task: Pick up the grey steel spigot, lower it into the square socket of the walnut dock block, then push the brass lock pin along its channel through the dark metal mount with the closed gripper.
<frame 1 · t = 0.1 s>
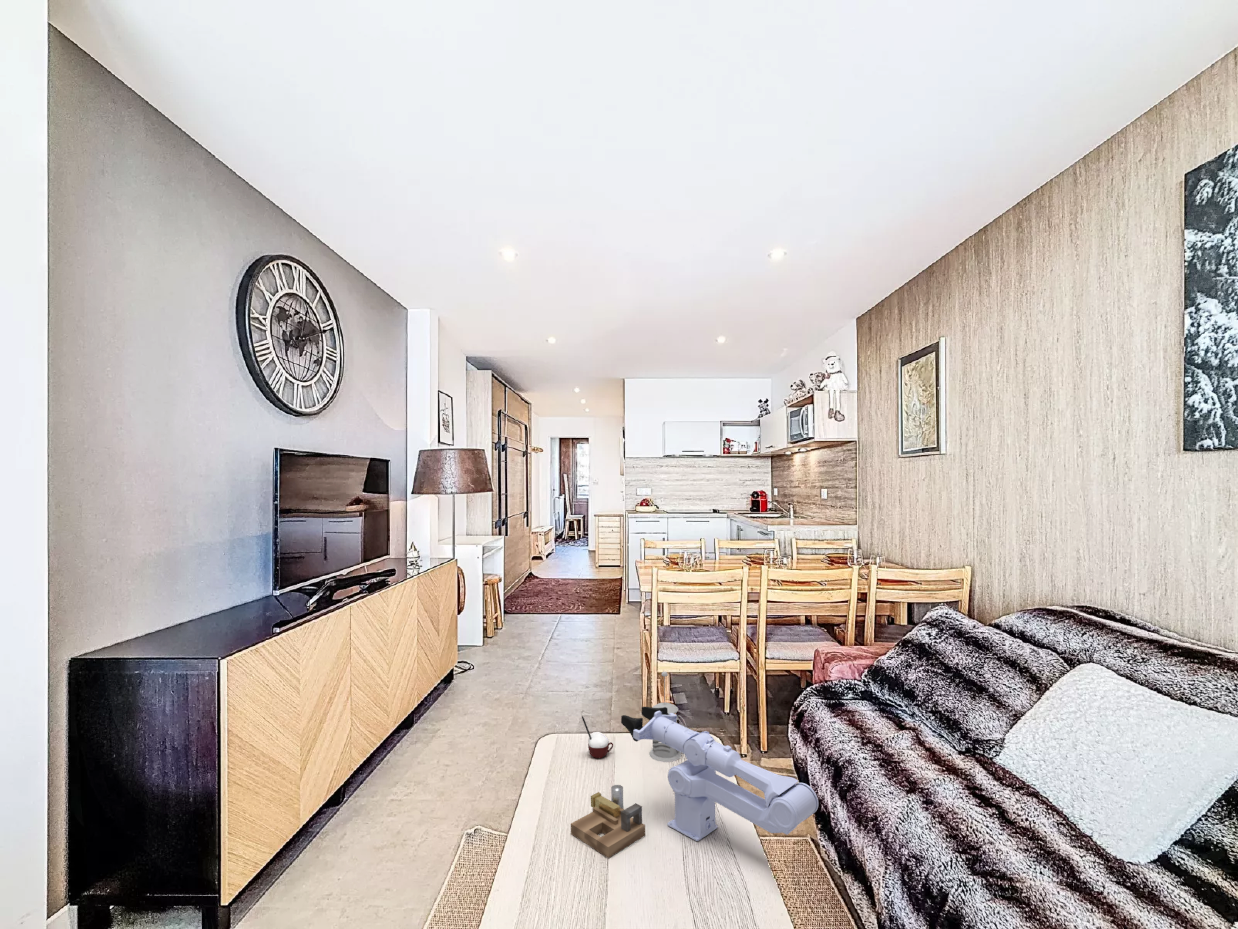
hand: (632, 714, 165), 22 cm above the table, tool horizontal, fingers open, 7 cm apart
french press: (668, 755, 189), on the table
spigot: (617, 811, 158), on the table
cocoa: (597, 756, 189), on the table
lock pin: (605, 805, 154), point 4 cm above the table, slide at 0.0 cm
dock: (601, 840, 146), on the table
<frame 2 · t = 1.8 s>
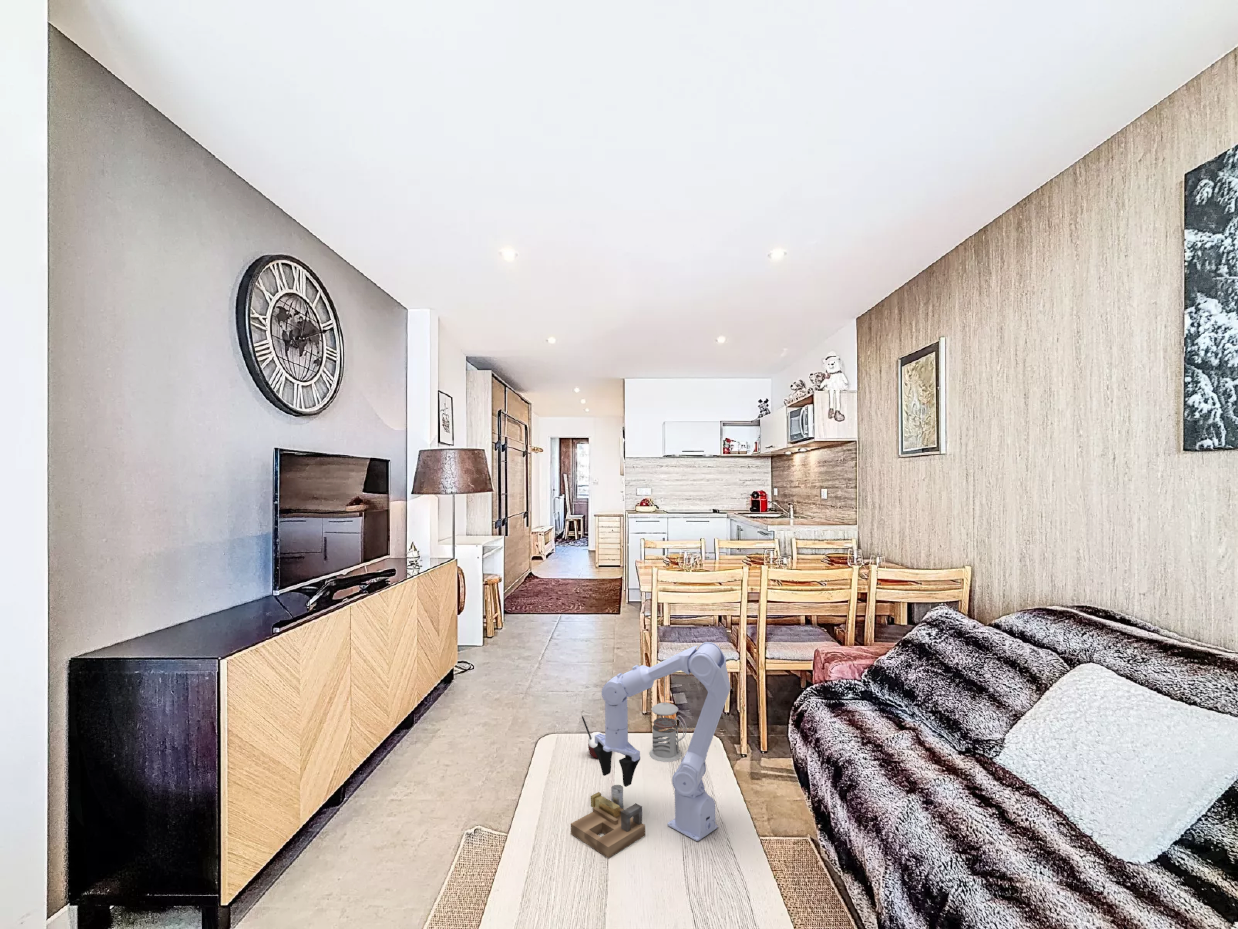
hand: (616, 779, 158), 8 cm above the table, tool pointing down, fingers open, 7 cm apart
nothing on the table moved.
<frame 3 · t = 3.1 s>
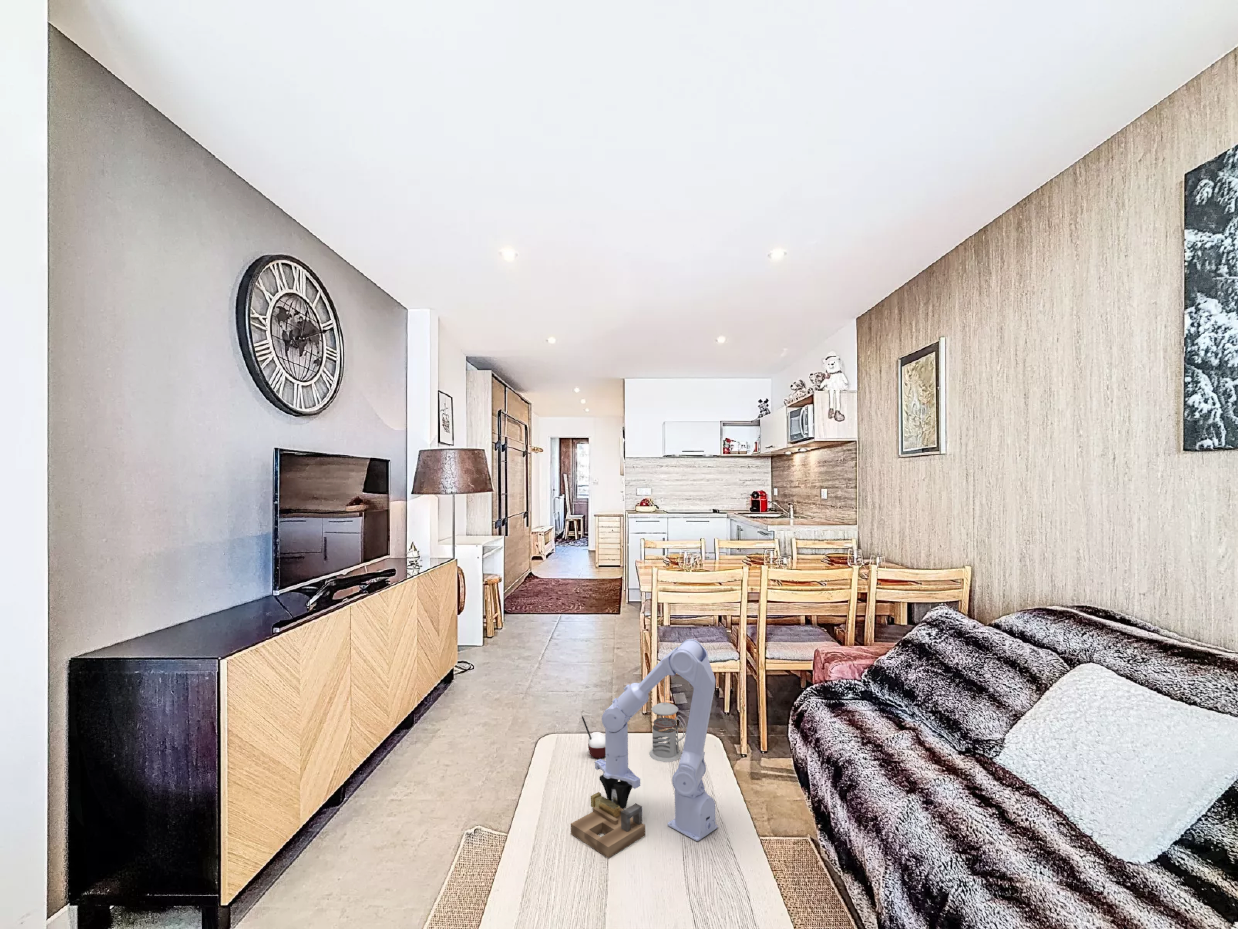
hand: (617, 805, 158), 1 cm above the table, tool pointing down, fingers closed on spigot, 3 cm apart
spigot: (617, 811, 158), on the table, touching gripper
everything else where it was.
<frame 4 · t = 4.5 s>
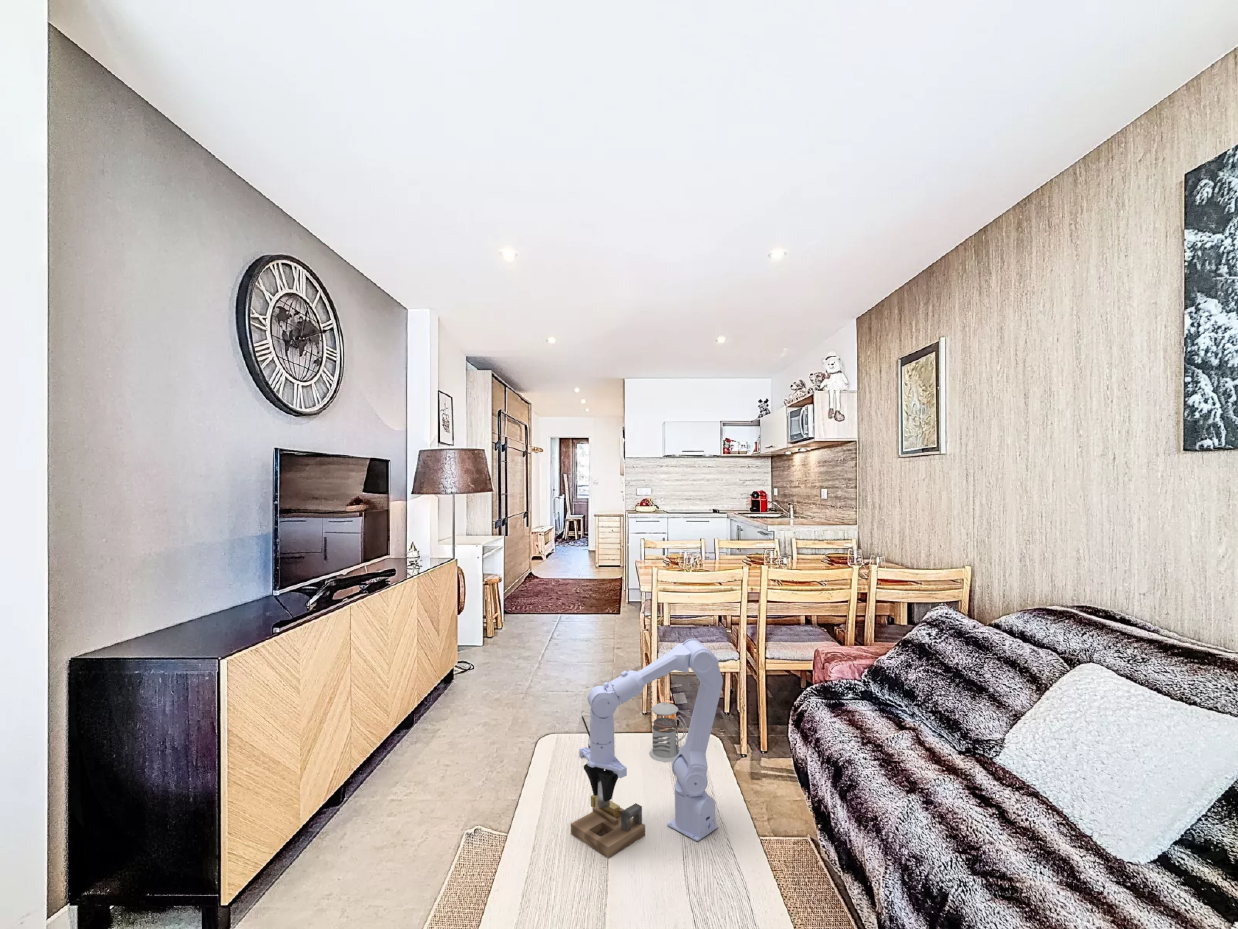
hand: (602, 796, 148), 9 cm above the table, tool pointing down, fingers closed on spigot, 3 cm apart
spigot: (603, 804, 148), point 7 cm above the table, touching gripper
everything else where it was.
when the fingers open (3 cm above the table, at t = 6.1 s): spigot drops 1 cm, resting in dock.
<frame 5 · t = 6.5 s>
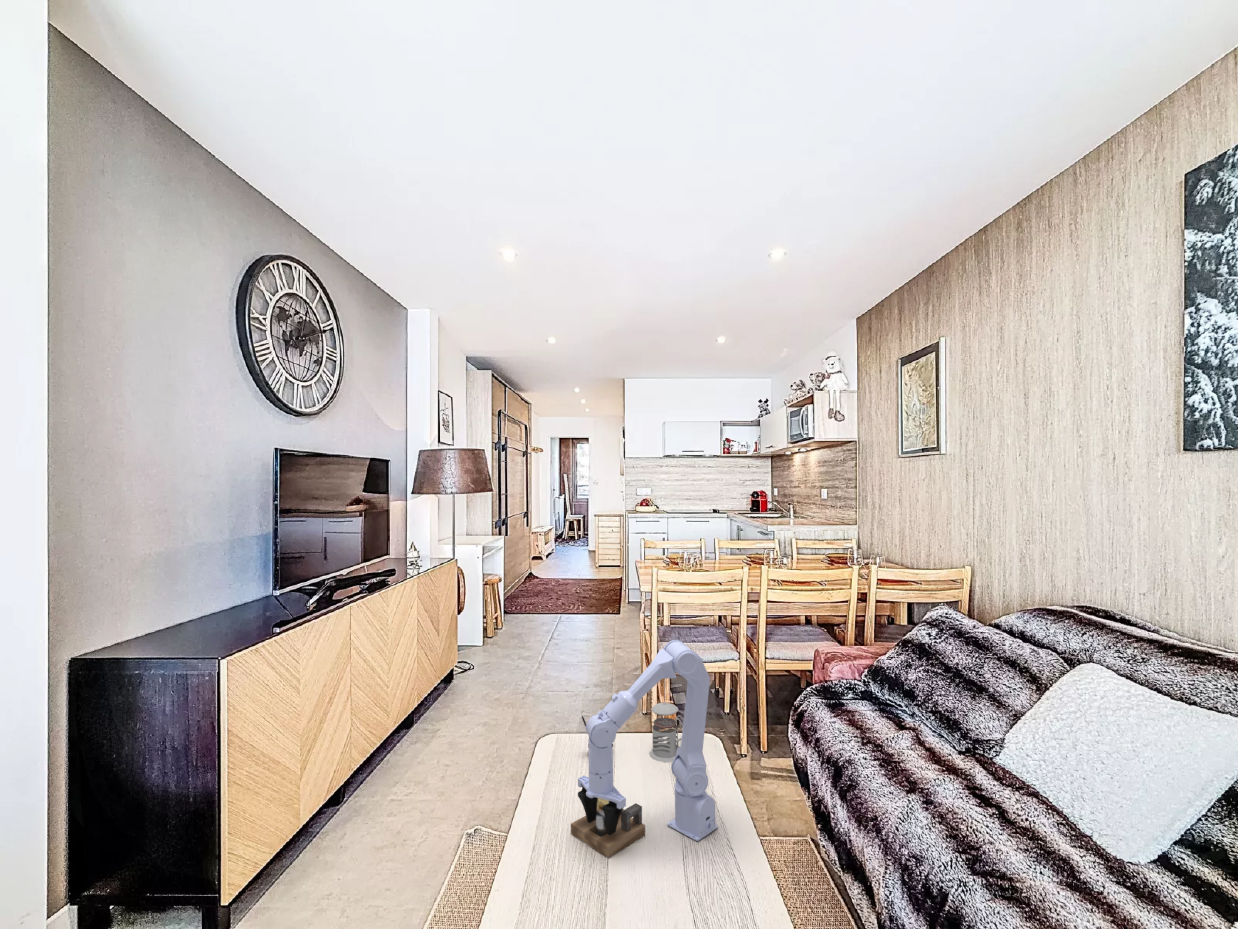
hand: (601, 826, 146), 3 cm above the table, tool pointing down, fingers open, 6 cm apart
spigot: (602, 839, 147), resting in dock
everything else where it was.
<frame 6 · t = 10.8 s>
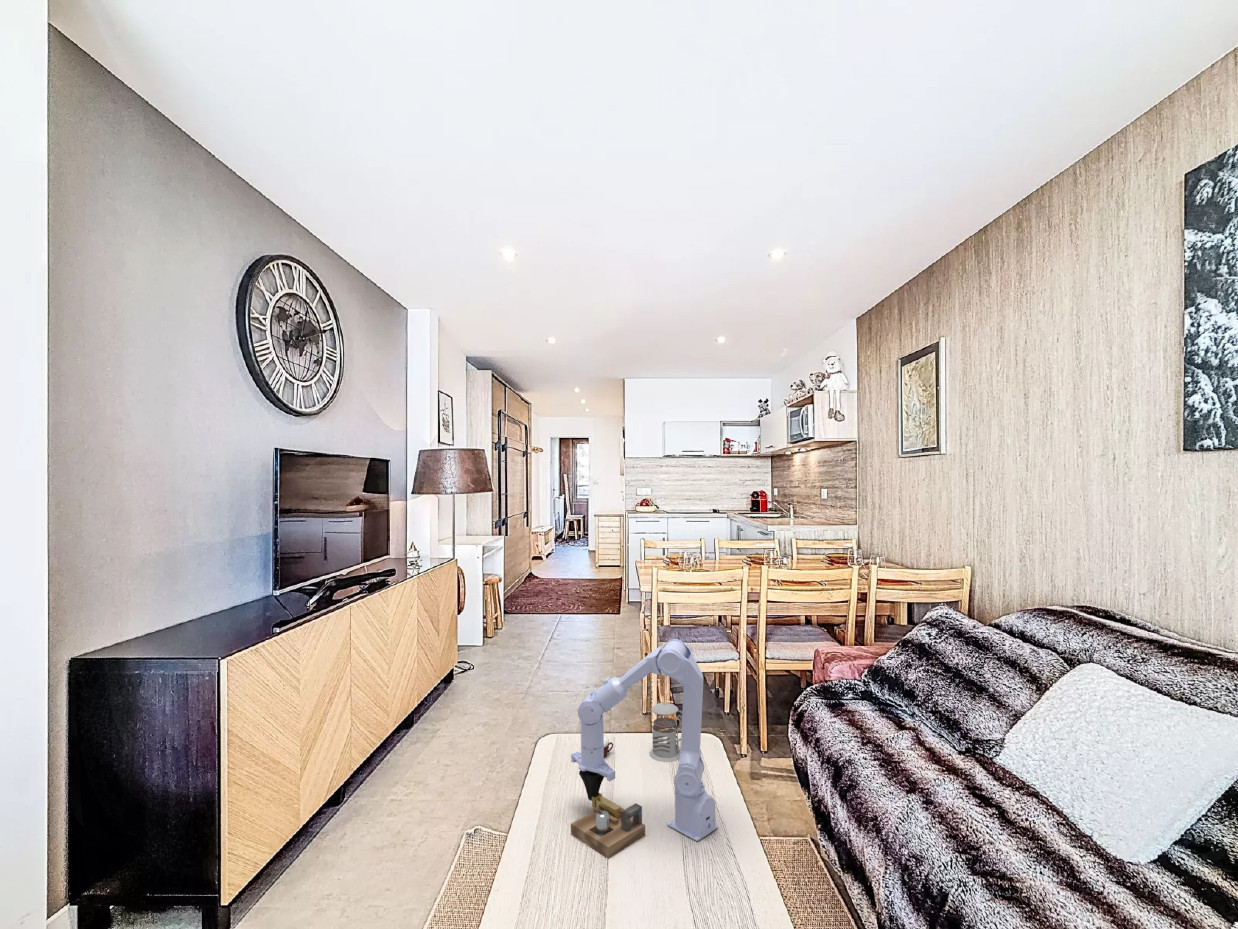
hand: (593, 798, 157), 4 cm above the table, tool pointing down, fingers closed
lock pin: (606, 805, 154), point 4 cm above the table, slide at 0.4 cm, touching gripper
everything else where it was.
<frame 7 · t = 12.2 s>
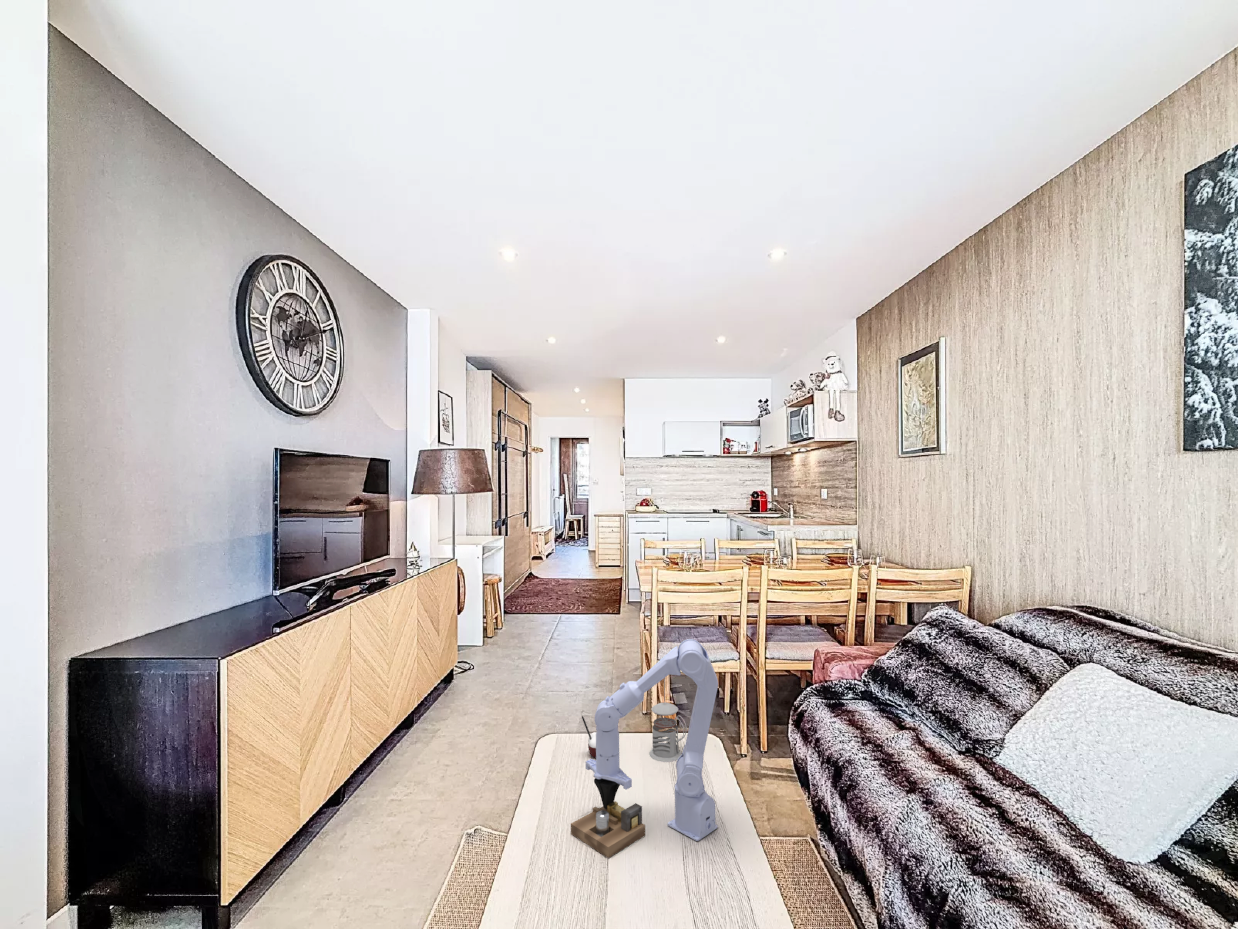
hand: (608, 807, 153), 4 cm above the table, tool pointing down, fingers closed
lock pin: (622, 815, 150), point 4 cm above the table, slide at 6.0 cm, touching gripper
everything else where it was.
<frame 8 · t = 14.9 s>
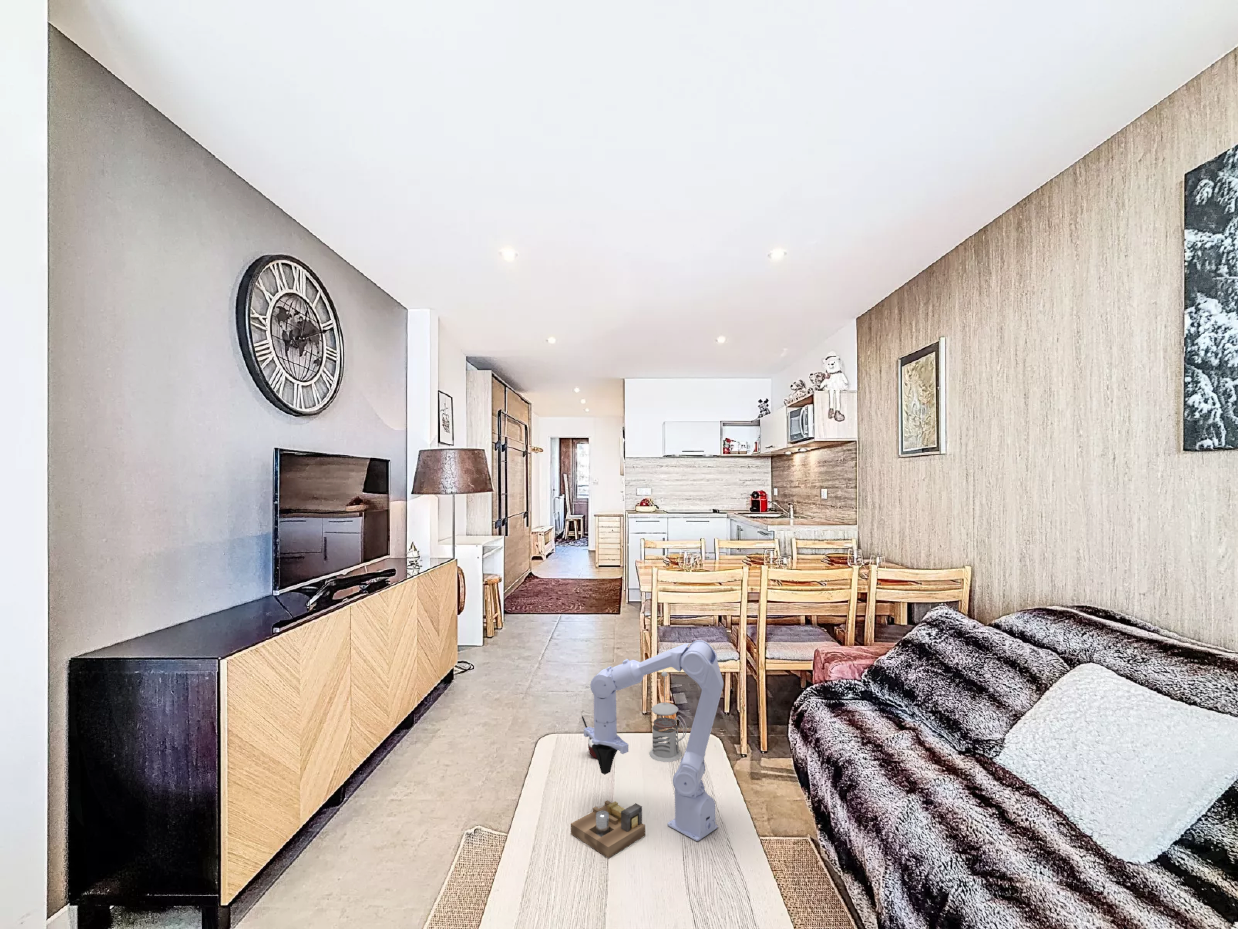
hand: (605, 772, 158), 10 cm above the table, tool pointing down, fingers closed
lock pin: (622, 815, 150), point 4 cm above the table, slide at 6.0 cm
everything else where it was.
at the end: spigot 0.3 cm off-centre on the dock, point 0.0 cm above the dock's base; spigot tilted 0°; lock pin slide at 6.0 cm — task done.
